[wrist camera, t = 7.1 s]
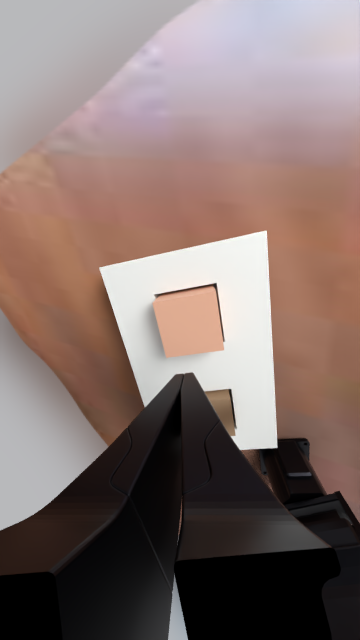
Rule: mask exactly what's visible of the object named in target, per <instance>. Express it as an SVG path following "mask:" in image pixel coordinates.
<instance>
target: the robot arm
mask: <svg viewBox="0 0 360 640" xmlns="http://www.w3.org/2000/svg"><path fill="white" fill-rule="evenodd" d="M309 445H310V444H309V441H308V440H307V439H304V438H303V439H285V440H277V448H266V449H259V456H260V467H261V472H262V474H263V475H268V477H269V480H270V483H271V486H272V489H273V492H272V491H271V489H270V488H269V487H268V485H267V484H266V483H265V482H264V480H263V479H262V478H261V476H260V475H259V474H258V473H257V471H256V470H255V469H254V467H253V466H252V465H251V464H250V462H249V461H248V460H247V458H246V457H245V456H244V455H243V453H242V452H241V450H240V449H239V448H238V446H237V445H236V444H235V442H234V441H233V439H232V438H231V436H230V434H229V433H228V431H227V430H226V428H225V426H224V425H223V423H222V421H221V420H220V418H219V416H218V414H217V413H216V411H215V409H214V407H213V406H212V404H211V402H210V401H209V399H208V397H207V395H206V394H205V392H204V390H203V388H202V387H201V385H200V383H199V381H198V380H197V378H196V376H195V375H194V373H193V372H190V373H185V374H183V373H182V374H175V375H174V376H173V377H172V379H171V380H170V381H169V382H168V383H167V384H166V385H165V386H164V387H163V388H162V389H161V391H160V392H159V393H158V394H157V395H156V396H155V397H154V398H153V399H152V400H151V402H150V403H149V404H148V405H147V406H146V407H145V408H144V409H143V410H142V411H141V413H140V414H139V415H138V416H137V417H136V418H135V419H134V420H133V421H132V422H131V424H130V425H129V426H128V428H126V429H125V430H124V431H123V432H122V433H121V434H120V436H119V437H118V438H117V439H116V440H115V441H114V442H113V443H112V444H111V445H110V446H109V447H108V448H107V449H106V450H105V451H104V452H103V453H102V454H101V455H100V456H99V457H98V458H97V459H96V460H95V461H94V462H93V463H92V464H91V465H90V466H89V467H88V468H87V469H85V470H84V471H83V472H82V473H81V474H80V475H79V476H78V477H77V478H76V479H75V480H74V481H73V482H72V483H71V484H70V485H68V486H67V487H66V488H65V489H64V490H63V491H62V492H61V493H60V494H59V495H58V496H57V497H56V498H55V499H54V500H52V501H51V502H50V503H49V504H48V505H46V506H45V507H44V508H42V509H41V510H40V511H38V512H37V513H35V514H34V515H32V516H30V517H29V518H27V519H25V520H23V521H21V522H19V523H17V524H14V525H12V526H10V527H7V528H5V529H3V530H1V531H0V640H168V633H169V622H170V613H171V603H172V590H173V582H174V573H175V578H176V583H177V588H178V593H179V597H180V602H181V607H182V612H183V617H184V621H185V626H186V631H187V636H188V640H360V523H359V522H358V520H357V519H356V517H355V515H354V514H353V512H352V511H351V509H350V507H349V506H348V504H347V502H346V501H345V499H344V498H343V496H342V494H341V493H340V491H337V492H334V493H333V494H329V495H327V493H326V492H325V490H324V488H323V486H322V484H321V482H320V480H319V479H318V477H317V475H316V473H315V471H314V469H313V468H312V466H311V464H310V462H309ZM181 501H182V522H181V529H180V534H179V540H178V531H179V521H180V511H181ZM351 524H352V525H351ZM177 541H178V545H177Z"/></svg>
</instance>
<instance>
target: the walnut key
mask: <svg viewBox="0 0 360 640" xmlns="http://www.w3.org/2000/svg"><path fill="white" fill-rule="evenodd" d="M204 392H205V394H206V395H207V397H208V399H209V401H210V402H211V404H212V406H213V407H214V409H215V411H216V413H217V414H218V416H219V418H220V420H221V421H222V423H223V425H224V426H225V428H226V430H227V431H228V433H229V434H230V436H236V435H235V428H234V421H233V413H232V406H231V399H230V395H229V390H228V389H224V390H214V391H204Z"/></svg>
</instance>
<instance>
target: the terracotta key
mask: <svg viewBox="0 0 360 640" xmlns="http://www.w3.org/2000/svg"><path fill="white" fill-rule="evenodd" d="M152 304H153V308H154V312H155V315H156V319H157V323H158V327H159V331H160V335H161V339H162V343H163V347H164V351H165V355H166V358H169V357H177V356H185V355H192V354H200V353H207V352H215V351H223V350H224V345H223V337H222V330H221V323H220V316H219V309H218V302H217V295H216V290H215V288H214V286H213V284H208V285H203V286H198V287H192V288H187V289H182V290H176V291H171V292H166V293H162V294H161V295H160V296H159V297H158V298H157V299H156V300H155V301H154V302H153V303H152Z"/></svg>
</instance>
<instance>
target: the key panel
mask: <svg viewBox="0 0 360 640" xmlns="http://www.w3.org/2000/svg"><path fill="white" fill-rule="evenodd" d="M100 271H101V274H102V277H103V281H104V284H105V287H106V290H107V293H108V296H109V299H110V302H111V305H112V308H113V311H114V314H115V317H116V320H117V323H118V327H119V330H120V333H121V336H122V339H123V342H124V345H125V348H126V351H127V354H128V357H129V360H130V363H131V366H132V369H133V372H134V376H135V379H136V382H137V385H138V388H139V391H140V394H141V397H142V400H143V403H144V406H145V407H146V406H147V405H148V404H149V403H150V402H151V400H152V399H153V398H154V397H155V396H156V395H157V394H158V393H159V392H160V391H161V389H162V388H163V387H164V386H165V385H166V384H167V383H168V382H169V381H170V380H171V379H172V377H173V376H174V375H175V374H182V373H183V374H185V373H190V372H193V373H194V375H195V376H196V378H197V380H198V381H199V383H200V385H201V387H202V388H203V390H204V391H214V390H224V389H228V390H229V395H230V399H231V406H232V413H233V421H234V428H235V435H236V436H231V438H232V439H233V441H234V442H235V444H236V445H237V446H238V448H239V449H240V450H246V449H266V448H277V429H276V409H275V389H274V369H273V348H272V328H271V308H270V288H269V268H268V248H267V231H262V232H258V233H253V234H249V235H244V236H240V237H235V238H231V239H226V240H222V241H217V242H213V243H208V244H204V245H199V246H195V247H190V248H186V249H181V250H177V251H172V252H168V253H163V254H159V255H154V256H149V257H145V258H140V259H136V260H131V261H127V262H122V263H118V264H113V265H109V266H104V267H100ZM208 284H213V286H214V288H215V290H216V295H217V302H218V309H219V316H220V323H221V330H222V337H223V345H224V350H223V351H215V352H207V353H200V354H192V355H185V356H177V357H169V358H166V355H165V351H164V347H163V343H162V339H161V335H160V331H159V327H158V323H157V319H156V315H155V312H154V308H153V304H152V303H153V302H154V301H155V300H156V299H157V298H158V297H159V296H160V295H161V294H162V293H166V292H171V291H176V290H182V289H187V288H192V287H198V286H203V285H208Z"/></svg>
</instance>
